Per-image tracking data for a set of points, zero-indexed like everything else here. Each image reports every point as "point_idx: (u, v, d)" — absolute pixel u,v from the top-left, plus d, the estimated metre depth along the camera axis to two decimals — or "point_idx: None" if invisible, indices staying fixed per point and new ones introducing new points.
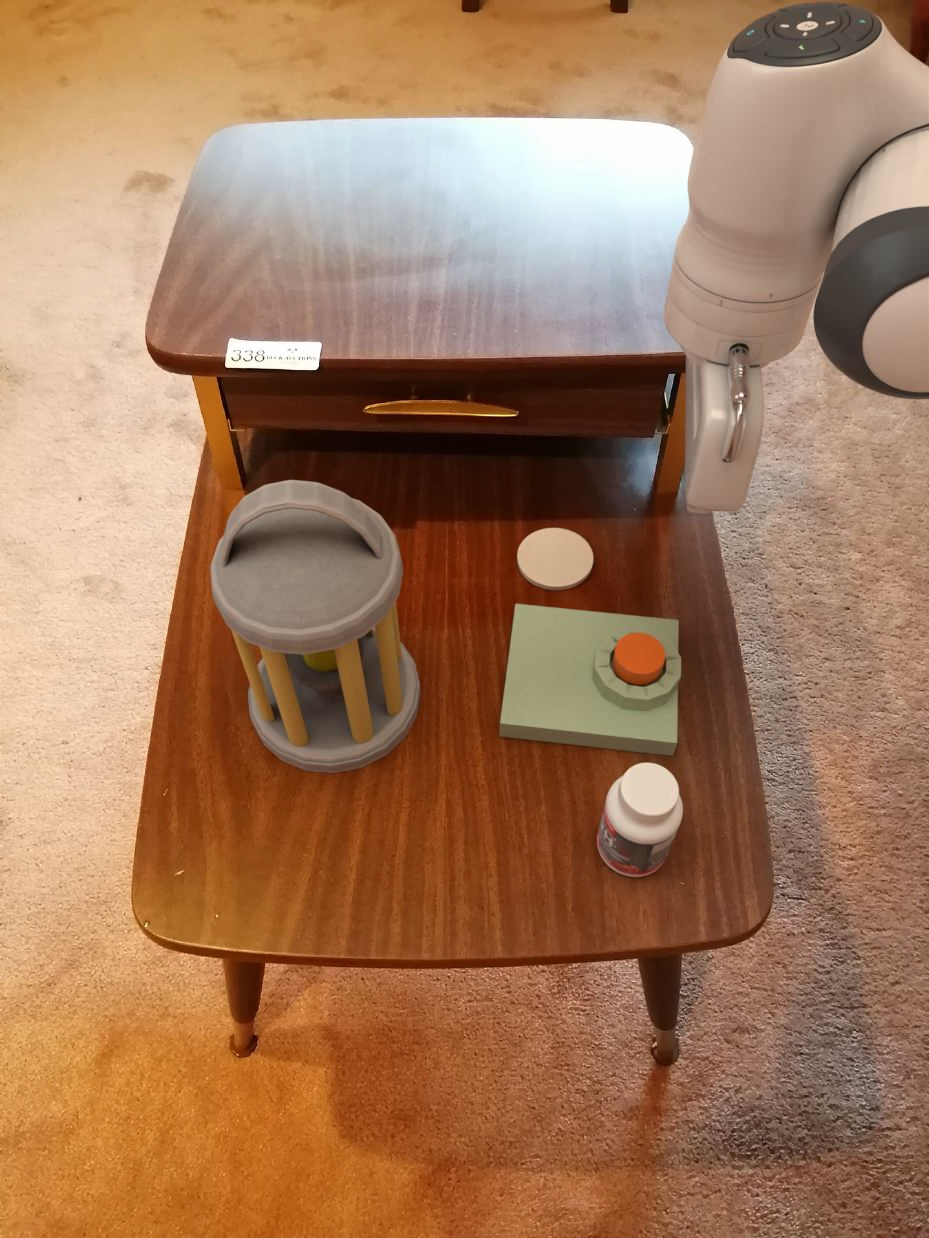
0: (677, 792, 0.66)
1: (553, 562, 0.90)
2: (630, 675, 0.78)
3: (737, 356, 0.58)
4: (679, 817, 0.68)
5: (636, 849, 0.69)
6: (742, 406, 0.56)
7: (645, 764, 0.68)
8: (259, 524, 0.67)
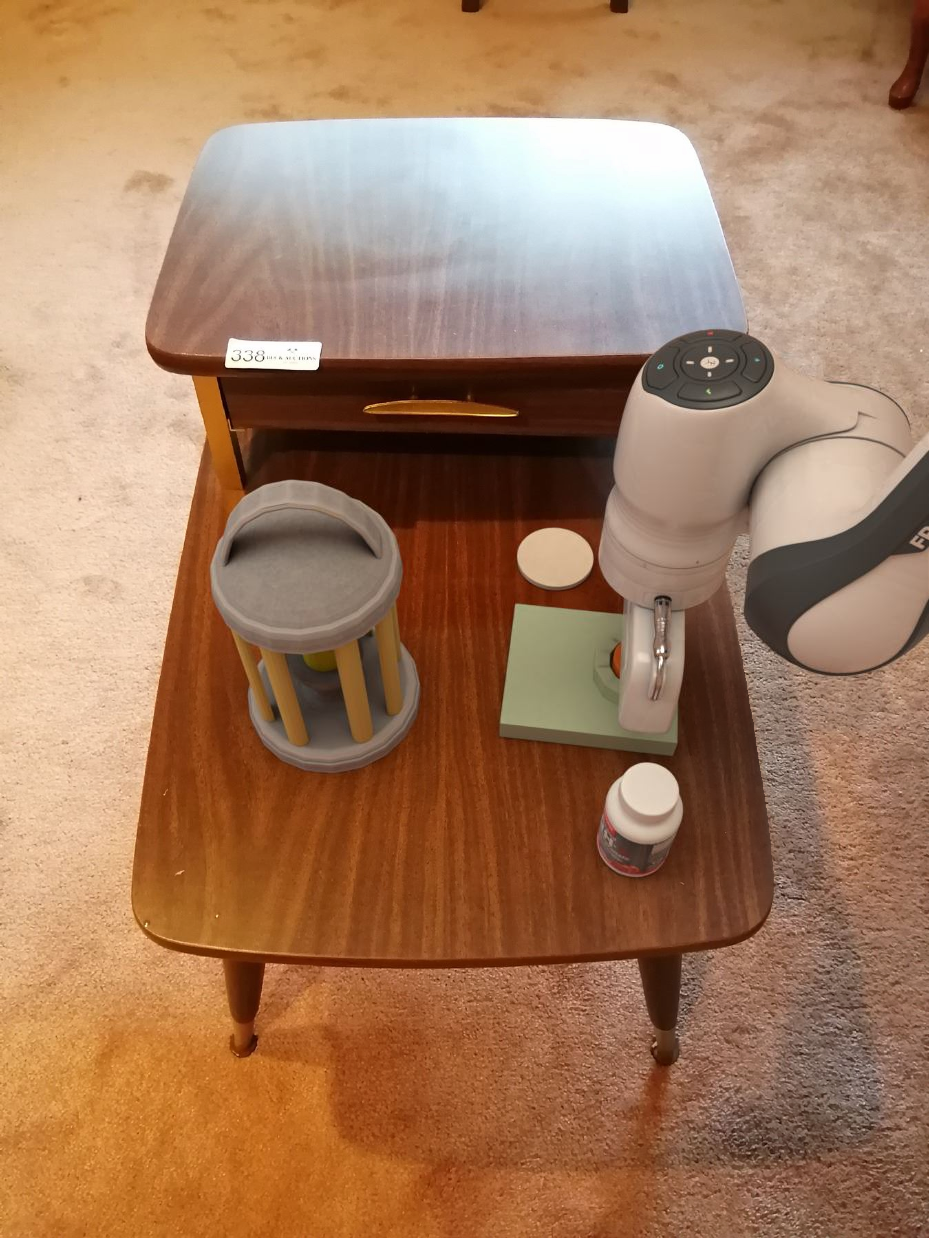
0: (677, 792, 0.66)
1: (553, 562, 0.90)
2: None
3: (660, 609, 0.65)
4: (679, 817, 0.68)
5: (636, 849, 0.69)
6: (662, 661, 0.63)
7: (645, 764, 0.68)
8: (259, 524, 0.67)
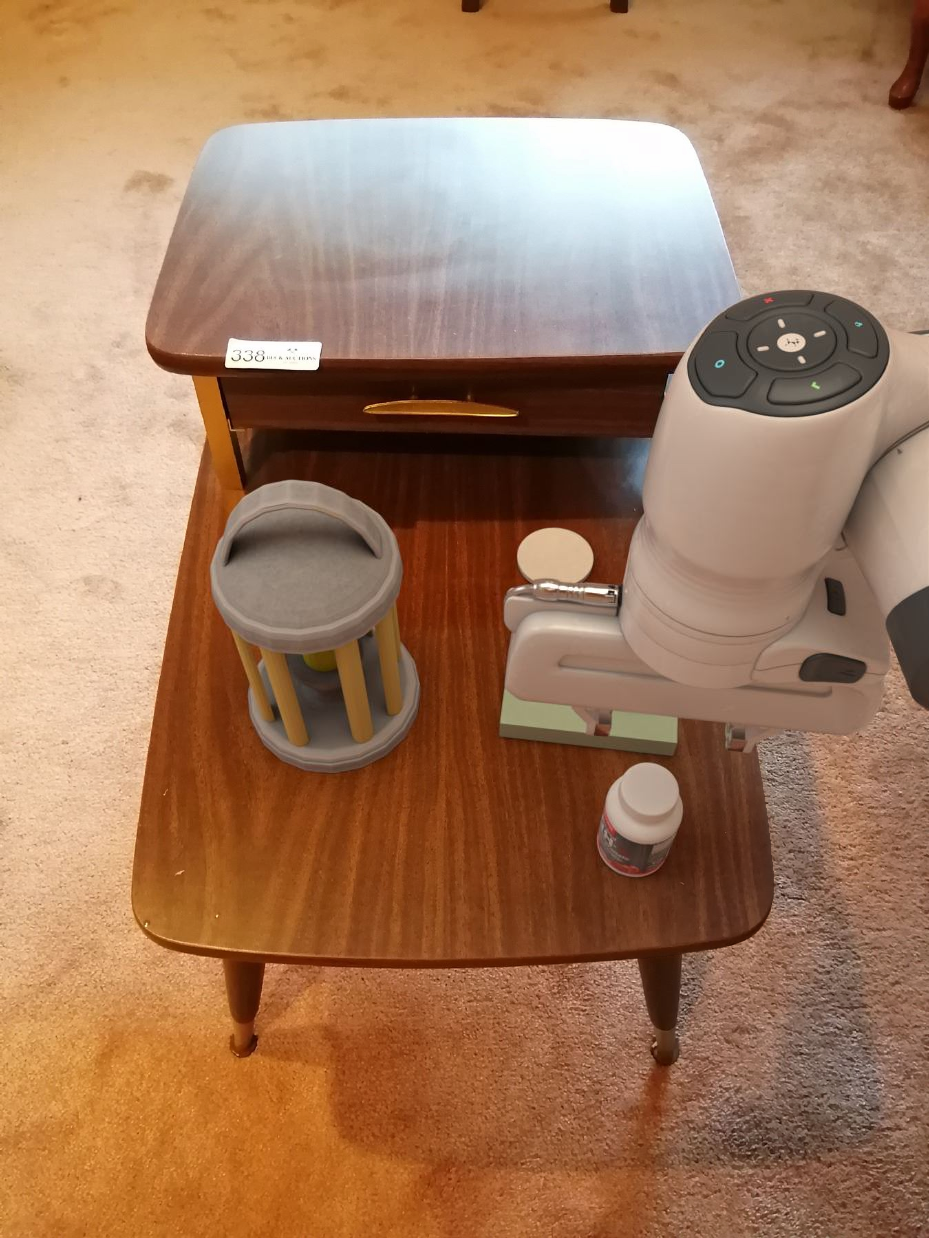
0: (677, 792, 0.66)
1: (553, 562, 0.90)
2: None
3: (601, 585, 0.50)
4: (679, 817, 0.68)
5: (636, 849, 0.69)
6: (525, 587, 0.51)
7: (645, 764, 0.68)
8: (259, 524, 0.67)
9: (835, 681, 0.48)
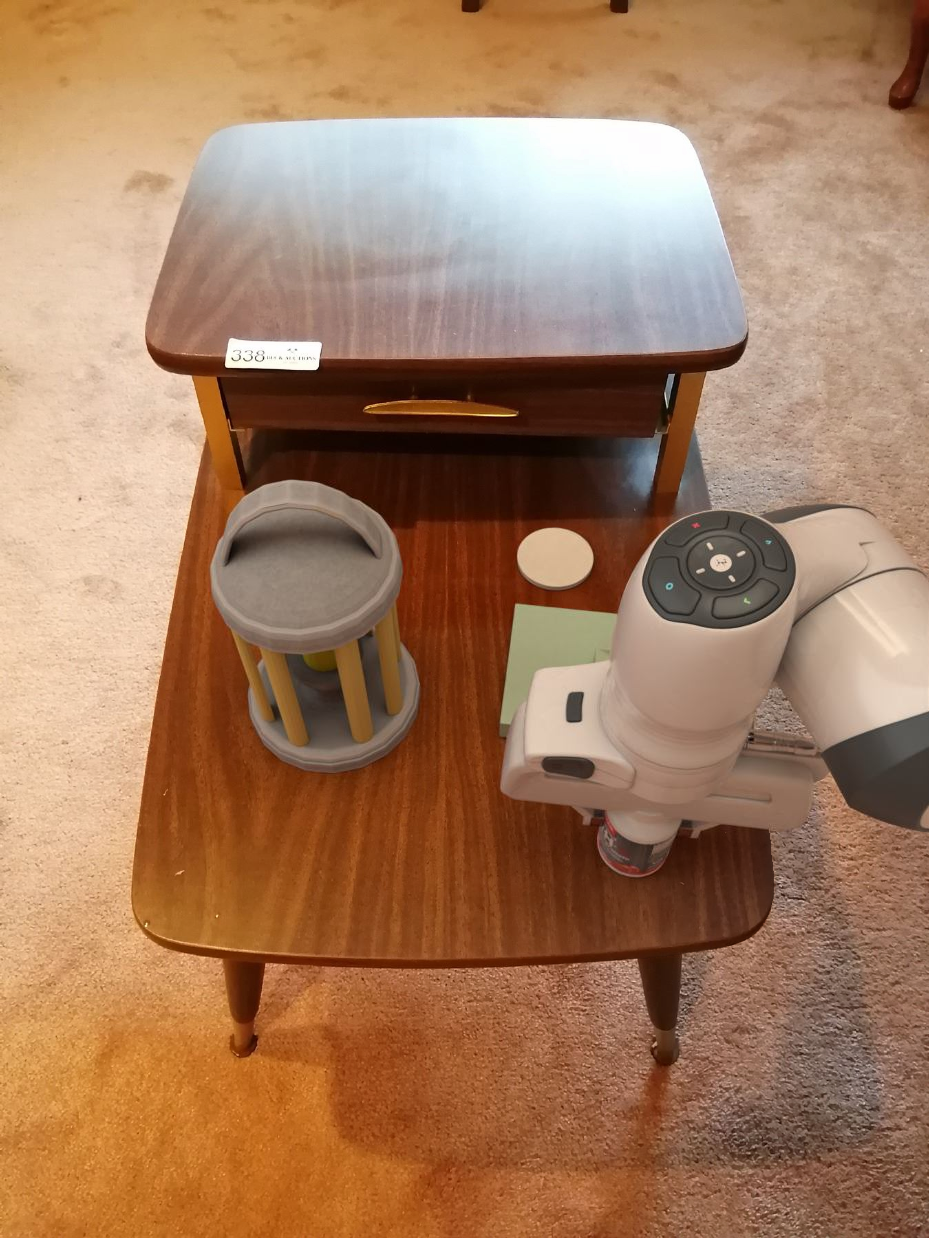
0: None
1: (553, 562, 0.90)
2: None
3: (759, 740, 0.59)
4: None
5: (636, 849, 0.69)
6: None
7: None
8: (259, 524, 0.67)
9: None
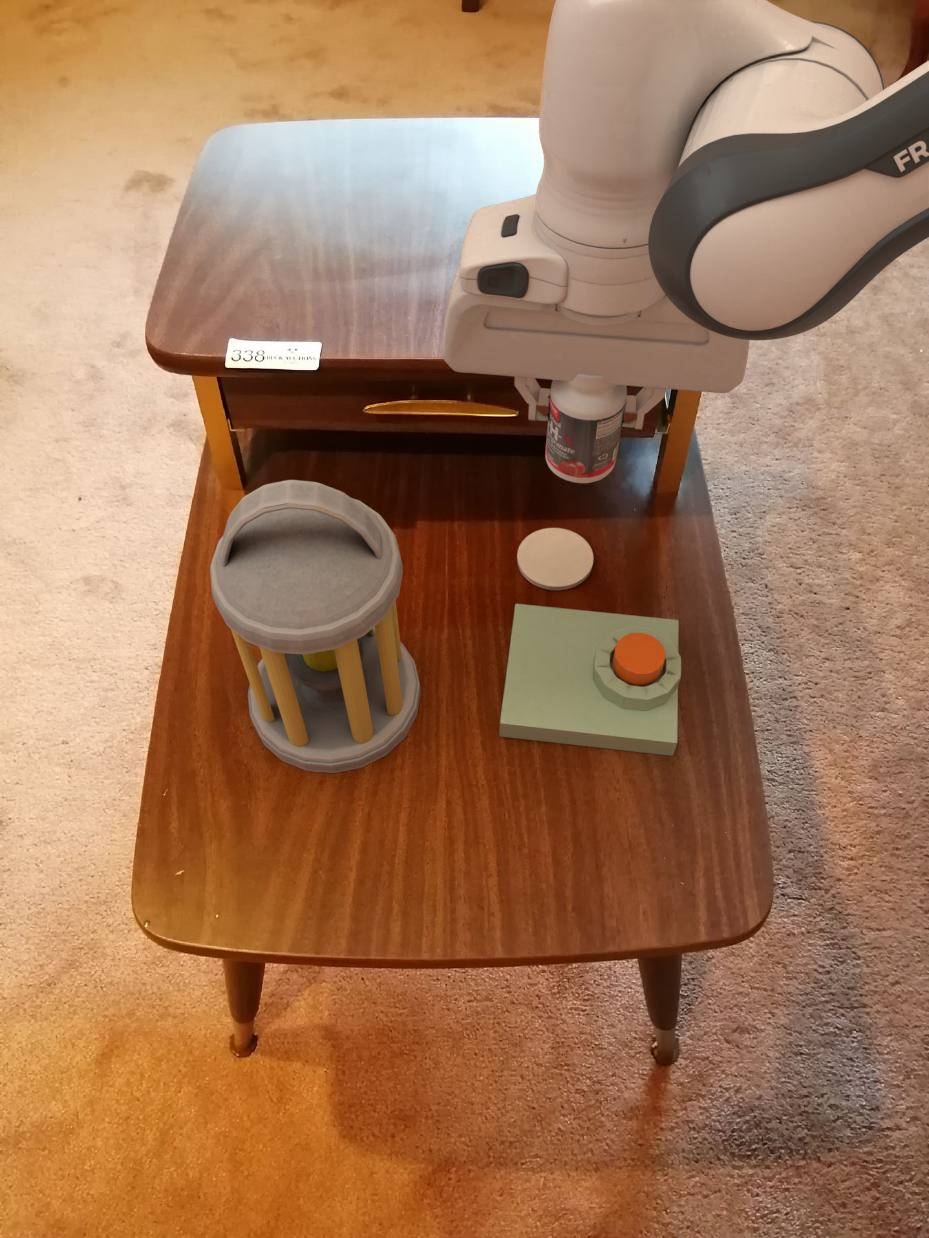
0: None
1: (553, 562, 0.90)
2: (630, 675, 0.78)
3: None
4: (622, 395, 0.68)
5: (580, 431, 0.69)
6: None
7: None
8: (259, 524, 0.67)
9: None
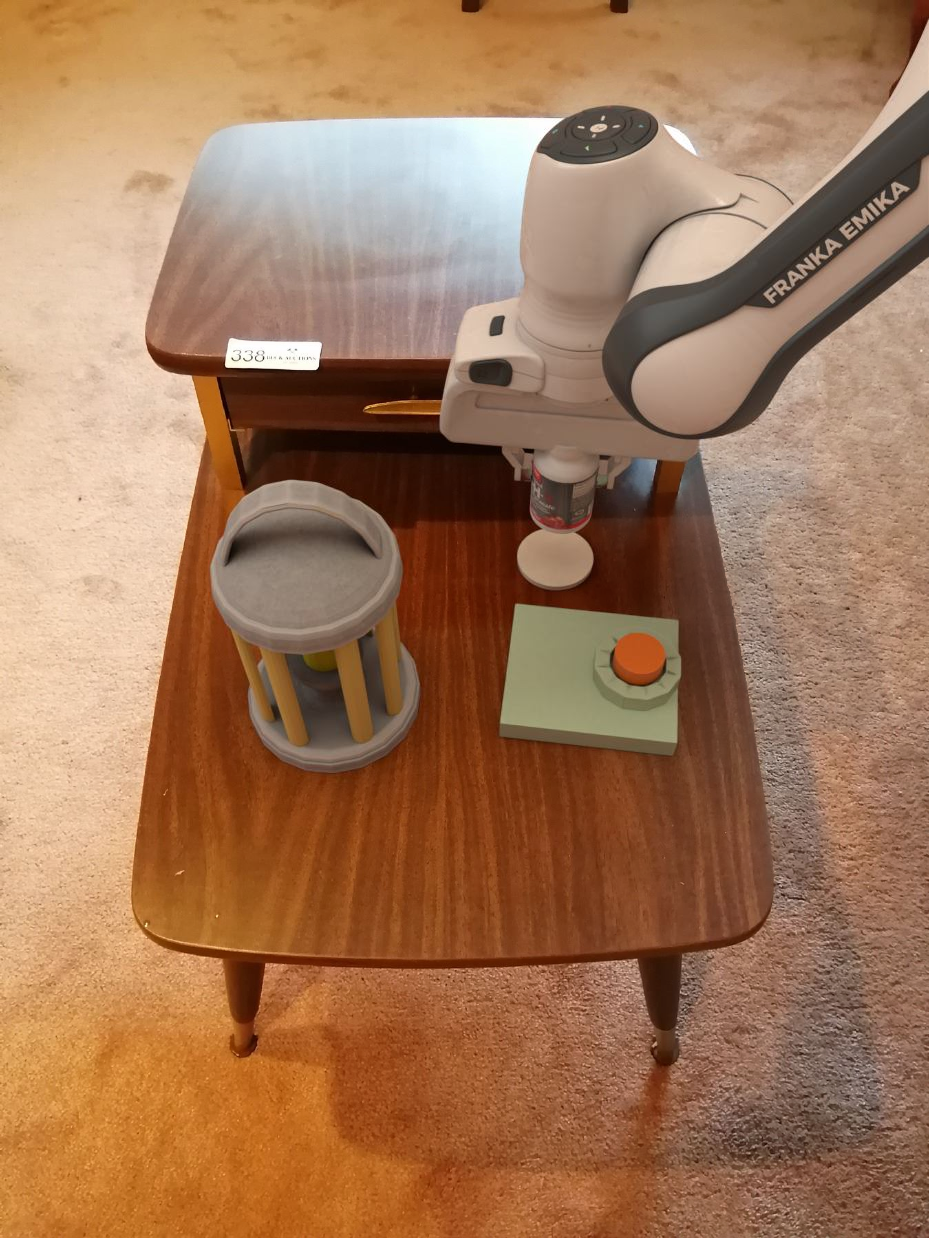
0: None
1: (553, 562, 0.90)
2: (630, 675, 0.78)
3: None
4: (595, 461, 0.79)
5: (559, 492, 0.80)
6: None
7: None
8: (259, 524, 0.67)
9: None
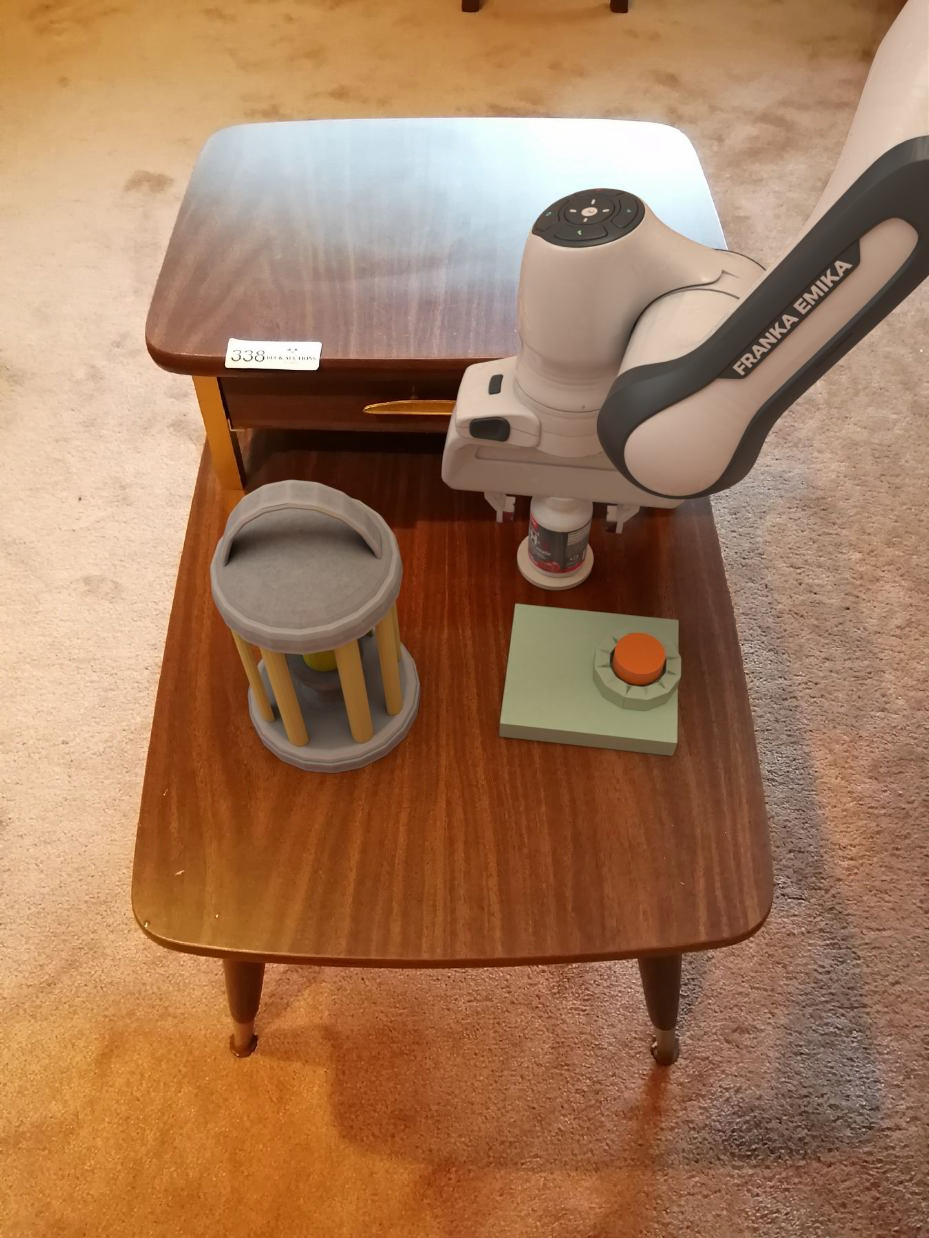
0: None
1: None
2: (630, 675, 0.78)
3: None
4: (588, 511, 0.84)
5: (554, 540, 0.84)
6: None
7: None
8: (259, 524, 0.67)
9: None
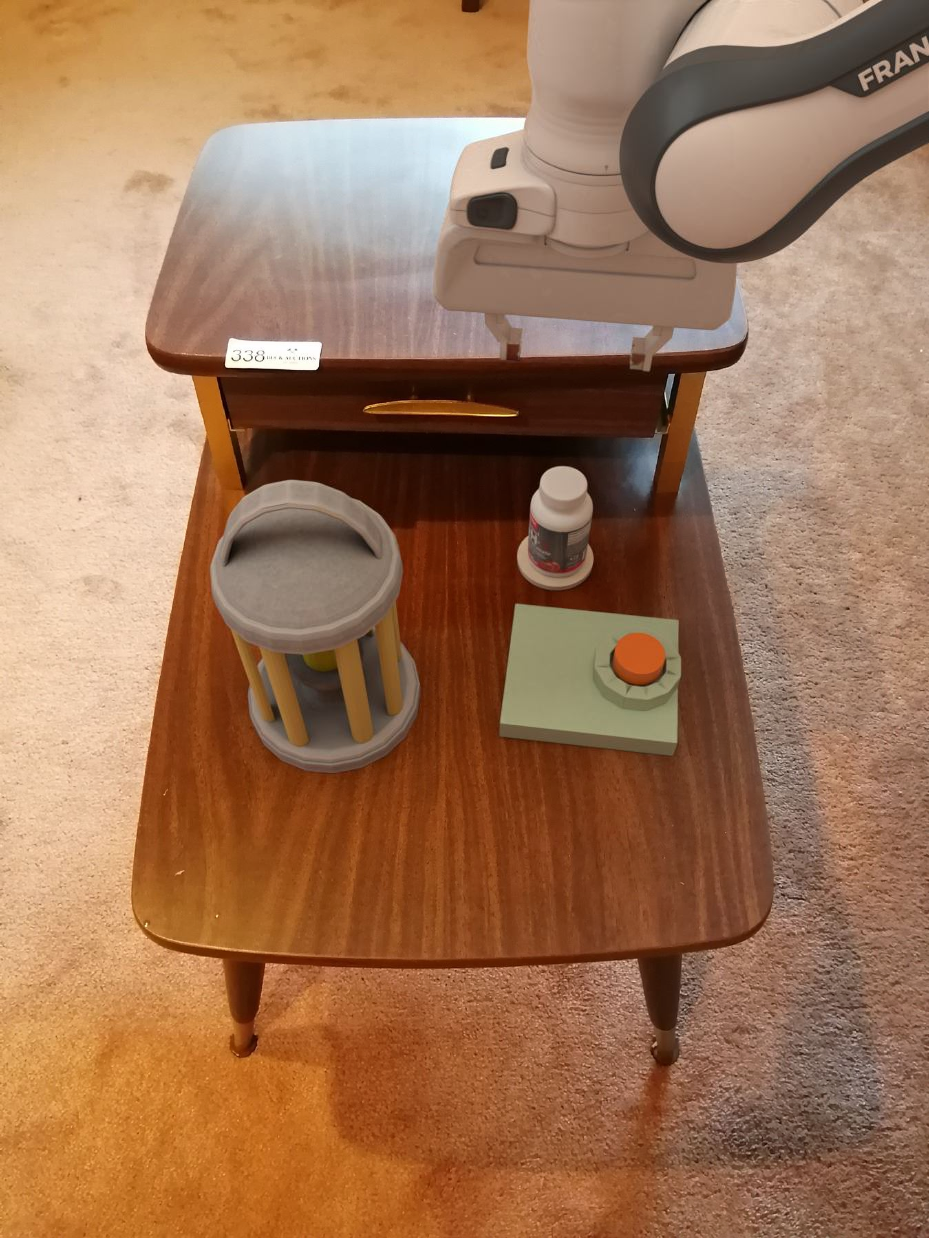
0: (585, 485, 0.82)
1: None
2: (630, 675, 0.78)
3: None
4: (588, 511, 0.84)
5: (554, 540, 0.84)
6: None
7: (561, 467, 0.83)
8: (259, 524, 0.67)
9: None
